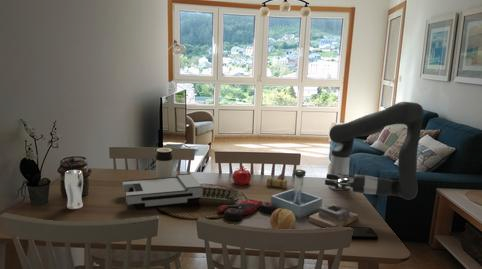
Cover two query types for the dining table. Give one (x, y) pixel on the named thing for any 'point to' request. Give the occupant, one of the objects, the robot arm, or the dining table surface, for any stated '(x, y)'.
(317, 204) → the tray
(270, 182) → the gavel
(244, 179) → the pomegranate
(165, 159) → the travel mug
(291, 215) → the bread roll
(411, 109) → the robot arm
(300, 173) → the stop pin
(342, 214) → the peg hole base
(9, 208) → the dining table surface
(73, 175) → the beer glass
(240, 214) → the toy motorcycle
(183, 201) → the game console
